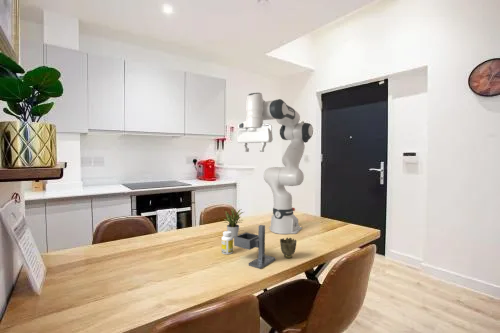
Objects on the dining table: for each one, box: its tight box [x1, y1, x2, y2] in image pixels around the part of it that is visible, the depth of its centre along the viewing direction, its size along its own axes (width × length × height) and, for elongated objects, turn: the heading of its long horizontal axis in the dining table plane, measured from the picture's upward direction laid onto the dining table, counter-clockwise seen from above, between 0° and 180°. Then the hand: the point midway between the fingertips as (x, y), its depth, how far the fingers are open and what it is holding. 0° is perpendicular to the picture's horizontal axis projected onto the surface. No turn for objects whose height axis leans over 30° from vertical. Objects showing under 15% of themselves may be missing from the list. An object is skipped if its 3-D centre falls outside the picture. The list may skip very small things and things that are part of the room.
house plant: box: [223, 208, 244, 239], centre depth 153 cm, size 14×14×16 cm
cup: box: [279, 237, 298, 259], centre depth 122 cm, size 8×7×8 cm
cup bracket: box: [233, 224, 277, 270], centre depth 118 cm, size 12×15×16 cm
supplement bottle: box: [221, 230, 234, 255], centre depth 128 cm, size 5×5×10 cm
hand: (254, 151), depth 138 cm, fingers open, 8 cm apart
